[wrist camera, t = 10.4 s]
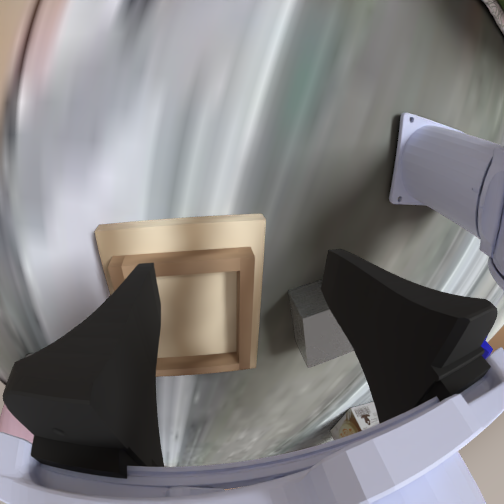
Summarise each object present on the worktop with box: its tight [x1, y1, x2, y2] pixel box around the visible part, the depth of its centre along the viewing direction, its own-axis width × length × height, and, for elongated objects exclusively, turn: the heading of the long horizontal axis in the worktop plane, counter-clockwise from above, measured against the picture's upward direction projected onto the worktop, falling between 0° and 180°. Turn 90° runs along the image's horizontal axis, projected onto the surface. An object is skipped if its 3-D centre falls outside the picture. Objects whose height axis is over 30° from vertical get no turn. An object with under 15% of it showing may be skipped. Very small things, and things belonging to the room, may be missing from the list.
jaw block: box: [288, 279, 354, 368], centre depth 25 cm, size 5×7×4 cm
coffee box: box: [330, 402, 379, 440], centre depth 37 cm, size 9×6×16 cm
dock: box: [95, 214, 266, 377], centre depth 22 cm, size 12×16×3 cm
